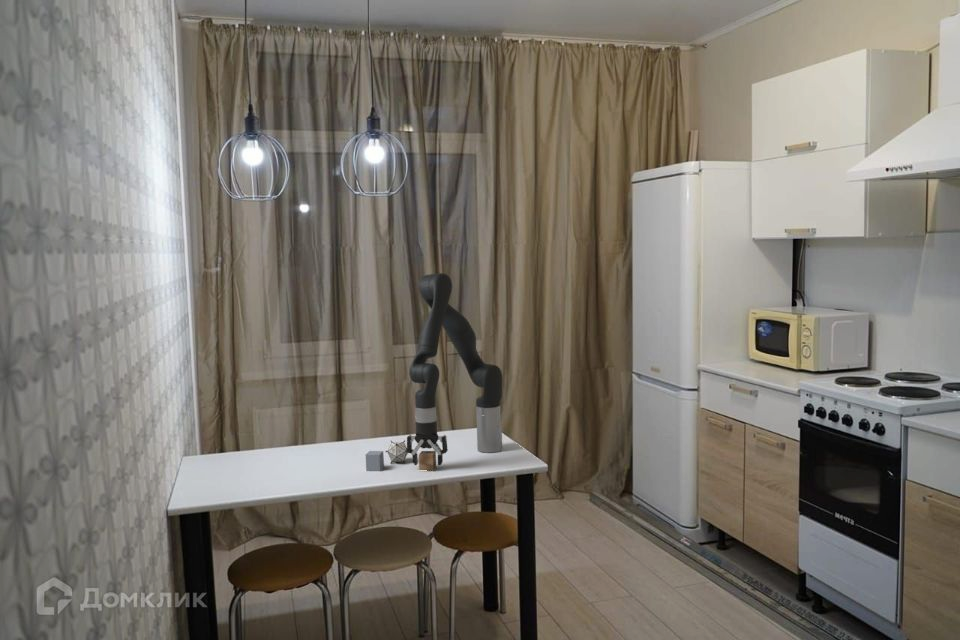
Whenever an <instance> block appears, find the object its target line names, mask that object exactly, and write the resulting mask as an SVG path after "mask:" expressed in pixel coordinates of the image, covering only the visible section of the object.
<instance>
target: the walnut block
mask: <svg viewBox="0 0 960 640" xmlns="http://www.w3.org/2000/svg"><path fill="white" fill-rule="evenodd" d="M418 467H419V469H418V470H427V471H426V472H434V471H435V470H436V469H437V452H436V451H435V450H422V451H420V453H419V454H418ZM434 469H435V470H434Z"/></svg>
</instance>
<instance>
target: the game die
mask: <svg viewBox="0 0 960 640" xmlns="http://www.w3.org/2000/svg"><path fill="white" fill-rule="evenodd" d="M405 442H406V439H404V440H403V441H392V440H390V445H389V448H388V449H387V450H385V453H387V454H388V457H389V458H390V464H392V463H393V462H394V463H395V462H396V463H397V462H399V463H400V462H403V463H404V464H405V463H406V458H407V456H408V455H409V453H407V444H406V443H405Z"/></svg>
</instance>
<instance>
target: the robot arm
mask: <svg viewBox="0 0 960 640" xmlns="http://www.w3.org/2000/svg"><path fill="white" fill-rule="evenodd" d="M417 287H418V290H419V294H420V296H421V297H422V298H423V301H424V302H425V303H426V304H427V305H428V306H429V307H428V308H430V311H429V314H428V315H427V318H426V319H425V321H424V323H423V324H422V327H421V330H420V333H419V336H418V337H419V338H418V343H417V350H416V352H415V355H414V357H413V359H412V362H411V364H410V366H409V370H408V371H409V373H408V375H409V378H410V380H411V382H413V383H416V384H425V387H424V389H418V390H417V391H415V394H414V397H415V398H414V400H415V402H414V404H415V411H414V416H415V417H414V420H415V435H411V434H408V436H407V437H406V448H407V453H408V454H411V456H412V457H411V458H412V463H413V464H414V466H417V465H419V456H418V451H419V450H420V449H432V450H433V451H436V455H437V466H441V465H442V463H443V461H444V460H443V459H444V458H443V456H444V454H446V453H447V452H448V450H449V449H448V441H447V435H445V434H444V435H442V436H441V435H440V436H439V434H438V419H437V417H438V416H437V409H436V393H437V387H438V383H439V379H440V369H439V367H438V366H437V365H436V364H435V363H426V362H427V360H429V359H431V358H435V357H436V356H437V354H438V349H439V342H440V334H441V330H442V328H443V330H444V331H445V333H446V335H447V337H448V338H449V341H450V342H451V343H452V345H453V347H454V348H455V349H456V352H457V354H458V355H459V357H460V358H461V360H462V362H463V365H464V367H465V369H466V371H467V374H468V375H469V378H470V379H471V381H472V384H474V385H475V386H476V387H480V388H483V389H482V390H483V391H482V395H481V396H479V397H477V398H476V401H475V406H476V407H475V409H476V410H475V411H476V439H477V441H476V442H477V443H476V445H477V446H476V447H477V451H478V452H480V453H497V452H498V453H499V452H501V451H502V449H503V425H502V421H501V417H502V416H501V400H502V397H503V373H502V369H501V368H500V367H499V366H498V365H495V364H490V363H485V361H483V359H482V358H481V356H480V354H479V353H478V350H477V336H476V333H475V331H474V329H473V327H472V325H471V323H470V322H469V320H468V319H467V318H466V317H465V316H464V315H463V314H462V313H461V312H459V311H458V310H456V308H454V307H453V306H451V304H450V303H449V302H450V300H451V296H452V292H453V291H452V290H453V282H452V279H451V277H450V276H449V275H448V274H446V273H444V272H440V273H433V274H431V273H430V274H426V275H423V276H421V277H420V278H419V281H418V286H417ZM414 440H415V442H416V443H417V444H416V446H415V447H414V449H413V446H412V445H413V442H414ZM438 441H439V442H440V443H441V445H442V449H441V447H440V445H439V444H438Z"/></svg>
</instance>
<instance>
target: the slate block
mask: <svg viewBox="0 0 960 640" xmlns="http://www.w3.org/2000/svg"><path fill="white" fill-rule="evenodd" d="M384 458H385V457H384V450H369V451H368V452H367V453H366V454H365V469H366V471H365V472H381V471H382V470H383V469H384V468H385V461H384V460H385V459H384ZM383 467H384V468H383ZM382 468H383V469H382ZM381 469H382V470H381ZM380 470H381V471H380Z"/></svg>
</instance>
